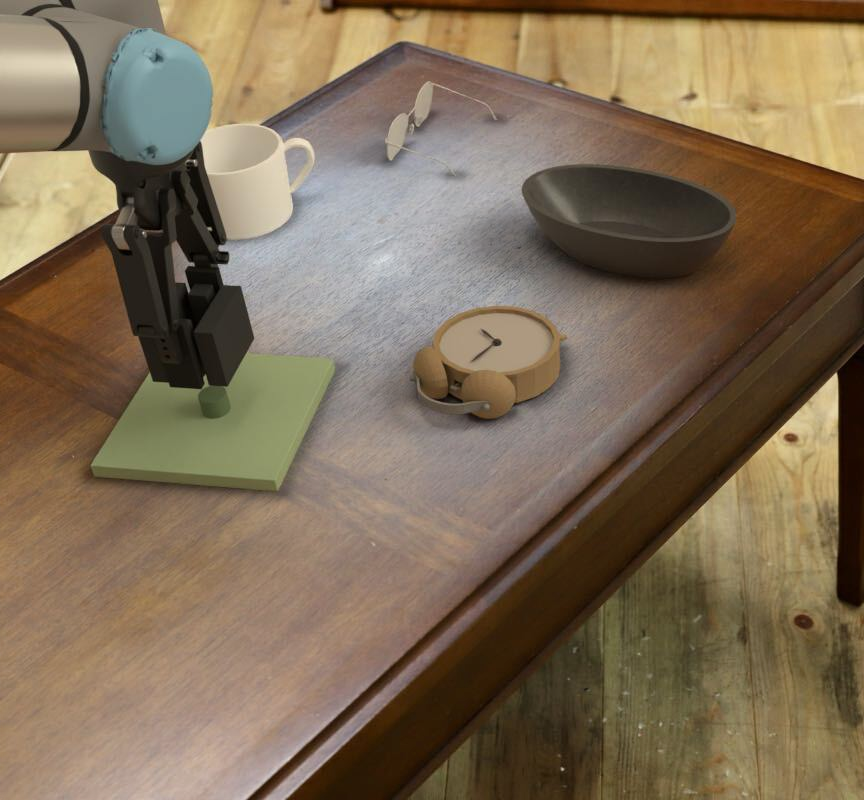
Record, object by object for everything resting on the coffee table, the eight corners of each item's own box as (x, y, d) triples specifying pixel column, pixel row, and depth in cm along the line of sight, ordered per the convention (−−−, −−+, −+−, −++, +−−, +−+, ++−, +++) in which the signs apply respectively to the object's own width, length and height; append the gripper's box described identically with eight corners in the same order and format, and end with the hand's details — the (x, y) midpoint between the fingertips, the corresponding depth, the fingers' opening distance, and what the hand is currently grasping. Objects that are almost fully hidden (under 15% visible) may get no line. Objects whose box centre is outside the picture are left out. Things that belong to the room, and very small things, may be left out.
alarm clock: (586, 327, 123) (486, 397, 112) (583, 375, 126) (485, 447, 115) (484, 292, 128) (379, 354, 117) (483, 338, 131) (381, 404, 119)
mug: (196, 250, 141) (177, 181, 135) (195, 198, 148) (177, 131, 143) (328, 230, 143) (314, 161, 137) (320, 179, 151) (307, 113, 145)
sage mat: (94, 478, 115) (83, 449, 113) (169, 360, 127) (160, 331, 125) (278, 493, 112) (270, 463, 110) (336, 371, 124) (330, 342, 122)
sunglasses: (431, 111, 161) (433, 73, 158) (498, 129, 160) (501, 92, 157) (383, 170, 151) (383, 131, 148) (454, 191, 150) (456, 152, 147)
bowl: (556, 203, 145) (553, 151, 141) (754, 246, 137) (756, 192, 133) (502, 263, 137) (497, 210, 133) (709, 313, 129) (710, 258, 125)
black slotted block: (152, 382, 113) (135, 328, 110) (182, 334, 118) (166, 281, 115) (227, 387, 112) (212, 333, 109) (254, 338, 117) (241, 285, 114)
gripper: (125, 182, 92) (203, 438, 107) (228, 51, 107) (284, 292, 122) (21, 177, 93) (113, 431, 108) (137, 48, 108) (203, 287, 123)
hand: (203, 357), depth 115 cm, fingers closed on black slotted block, 6 cm apart
